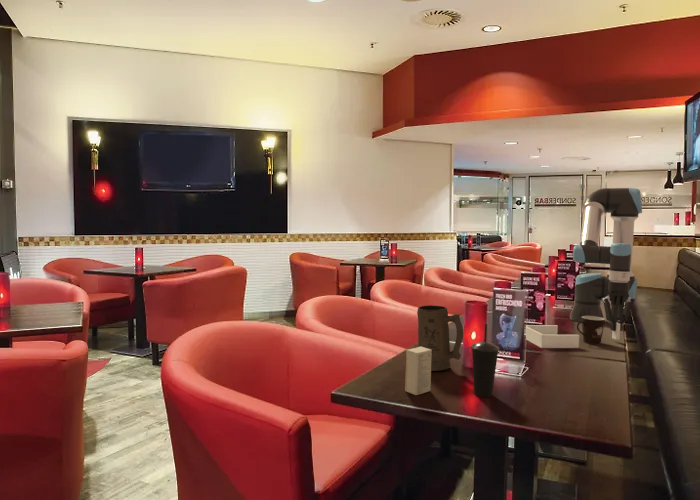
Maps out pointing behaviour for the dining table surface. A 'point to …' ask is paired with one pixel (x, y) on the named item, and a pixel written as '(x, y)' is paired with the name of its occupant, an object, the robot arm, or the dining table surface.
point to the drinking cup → (484, 366)
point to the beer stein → (438, 335)
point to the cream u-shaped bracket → (550, 337)
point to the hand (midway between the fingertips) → (615, 338)
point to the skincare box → (418, 370)
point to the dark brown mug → (592, 329)
